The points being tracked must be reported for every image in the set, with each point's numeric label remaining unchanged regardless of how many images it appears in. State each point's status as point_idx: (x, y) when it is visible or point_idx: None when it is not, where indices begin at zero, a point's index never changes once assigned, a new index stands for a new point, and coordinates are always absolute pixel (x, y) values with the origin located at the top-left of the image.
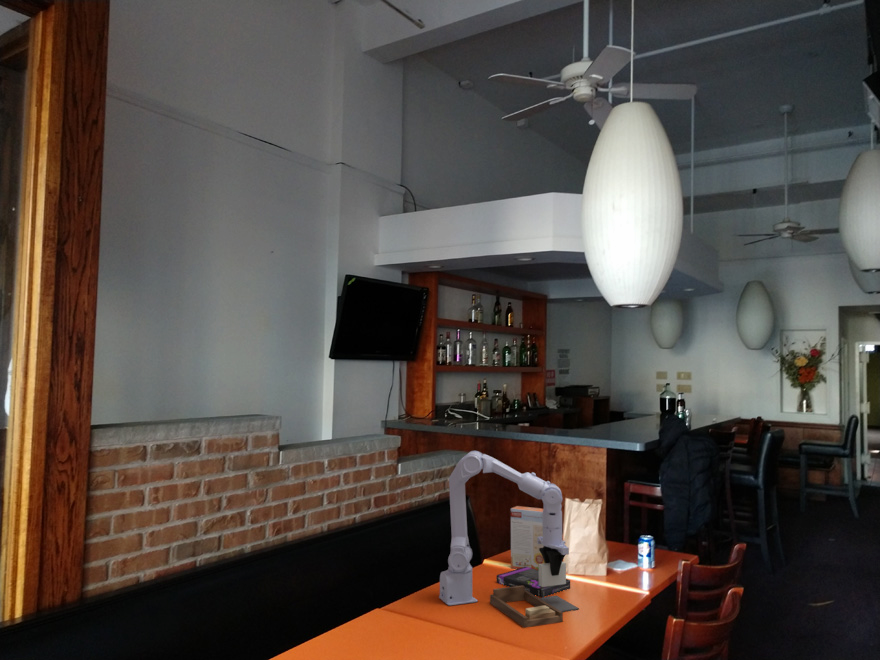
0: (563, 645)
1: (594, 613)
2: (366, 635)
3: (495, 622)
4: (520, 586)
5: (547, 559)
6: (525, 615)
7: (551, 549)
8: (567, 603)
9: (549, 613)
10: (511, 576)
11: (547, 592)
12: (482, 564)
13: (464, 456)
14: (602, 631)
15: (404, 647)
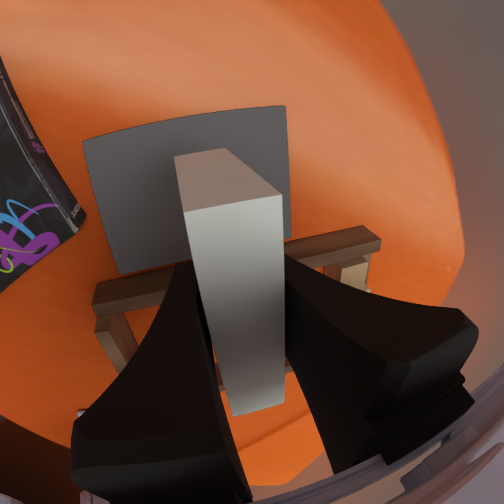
0: (443, 270)
1: (338, 69)
2: (269, 471)
3: (290, 379)
4: (112, 345)
5: (221, 399)
6: None
7: (242, 476)
8: (209, 128)
9: (364, 280)
10: None
11: (60, 186)
12: None
13: None
14: (445, 149)
15: (321, 445)
